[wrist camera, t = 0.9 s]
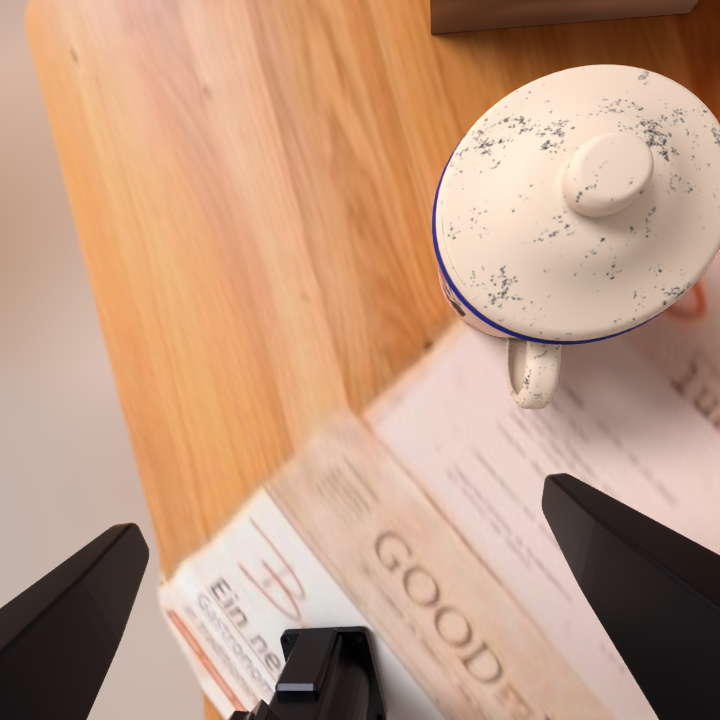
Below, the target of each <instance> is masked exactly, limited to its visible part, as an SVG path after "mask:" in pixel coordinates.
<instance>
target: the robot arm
mask: <svg viewBox="0 0 720 720" xmlns="http://www.w3.org/2000/svg"><path fill="white" fill-rule="evenodd" d="M542 510H543V513H544V515H545V517H546V519H547V522H548V524H549V526H550V528H551V530H552V532H553V534H554V536H555V538H556V540H557V542H558V544H559V546H560V548H561V550H562V552H563V555H564V557H565V559H566V561H567V563H568V565H569V567H570V569H571V571H572V573H573V575H574V577H575V579H576V581H577V583H578V585H579V587H580V588H581V590H582V592H583V594H584V595H585V597H586V599H587V601H588V602H589V604H590V606H591V607H592V609H593V611H594V612H595V614H596V616H597V617H598V619H599V620H600V622H601V624H602V625H603V627H604V629H605V630H606V632H607V634H608V635H609V637H610V639H611V640H612V642H613V644H614V645H615V647H616V649H617V650H618V652H619V654H620V655H621V657H622V659H623V660H624V662H625V664H626V665H627V667H628V669H629V670H630V672H631V674H632V675H633V677H634V679H635V680H636V682H637V684H638V685H639V687H640V689H641V690H642V692H643V694H644V695H645V697H646V699H647V700H648V702H649V704H650V705H651V707H652V709H653V710H654V712H655V714H656V715H657V717H658V719H659V720H720V555H718V554H716V553H715V552H713V551H711V550H709V549H707V548H705V547H703V546H702V545H700V544H698V543H696V542H694V541H692V540H690V539H689V538H687V537H685V536H683V535H681V534H679V533H677V532H675V531H674V530H672V529H670V528H668V527H666V526H664V525H662V524H661V523H659V522H657V521H655V520H653V519H651V518H649V517H648V516H646V515H644V514H642V513H640V512H638V511H636V510H635V509H633V508H631V507H629V506H627V505H625V504H623V503H621V502H620V501H618V500H616V499H614V498H612V497H610V496H608V495H607V494H605V493H603V492H601V491H599V490H597V489H595V488H594V487H592V486H590V485H588V484H586V483H584V482H582V481H580V480H579V479H577V478H575V477H573V476H571V475H569V474H566V473H560V474H551V475H548V476H547V477H546V478H545V482H544V489H543V496H542ZM148 559H149V548H148V546H147V544H146V541H145V539H144V537H143V535H142V533H141V531H140V529H139V527H138V525H136V524H135V523H125V524H117V525H114V526H112V527H110V528H109V529H108V530H106V531H105V532H104V533H102V534H101V535H100V536H98V537H97V538H95V539H94V540H93V541H91V542H90V543H89V544H87V545H86V546H85V547H83V548H82V549H81V550H79V551H78V552H76V553H75V554H74V555H72V556H71V557H70V558H68V559H67V560H66V561H64V562H63V563H62V564H60V565H59V566H57V567H56V568H55V569H53V570H52V571H51V572H49V573H48V574H47V575H45V576H44V577H43V578H41V579H40V580H39V581H37V582H36V583H35V584H33V585H32V586H30V587H29V588H28V589H26V590H25V591H24V592H22V593H21V594H20V595H18V596H17V597H15V598H14V599H13V600H11V601H10V602H9V603H7V604H6V605H4V606H3V607H2V608H0V720H86V719H87V717H88V715H89V713H90V710H91V708H92V706H93V704H94V701H95V699H96V697H97V694H98V692H99V690H100V688H101V685H102V683H103V681H104V678H105V676H106V674H107V672H108V669H109V667H110V665H111V662H112V660H113V658H114V656H115V653H116V651H117V648H118V646H119V643H120V641H121V638H122V636H123V632H124V630H125V627H126V624H127V622H128V619H129V616H130V613H131V610H132V607H133V604H134V601H135V598H136V595H137V592H138V589H139V587H140V583H141V581H142V578H143V575H144V572H145V569H146V566H147V563H148ZM359 635H362V636H363V637H360V636H359ZM287 638H289V639H287ZM280 640H281V645H282V649H283V653H284V657H285V662H286V664H285V666H284V669H283V671H282V673H281V675H280V677H279V679H278V681H277V684H276V686H275V690H276V691H275V693H274V695H273V697H272V700H271V702H270V704H269V705H268V704H267V703H266V702H264V701H263V700H262V699H261V700H260V702H259V703H258V704H257V705H256V707H255V708H254V709H253V710H252V711H251V712H249V711H248V710H247V711H246V712H244V711H234V712H233V714H232V715H231V716H230V717H229V719H228V720H386V717H387V709H386V705H385V701H384V697H383V692H382V688H381V684H380V680H379V676H378V671H377V667H376V663H375V659H374V655H373V651H372V646H371V642H370V638H369V634H368V631H367V630H366V629H365V628H364V627H361V626H357V627H334V628H311V629H288V630H285V631H284V632H283V634H282V636H281V638H280Z"/></svg>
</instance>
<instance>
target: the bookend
mask: <svg viewBox="0 0 720 720" xmlns="http://www.w3.org/2000/svg"><path fill="white" fill-rule="evenodd" d="M698 1H699V0H430V7H431V34H439V33H451V32H463V31H475V30H488V29H500V28H512V27H525V26H537V25H549V24H562V23H574V22H586V21H598V20H611V19H623V18H635V17H648V16H660V15H672V14H685V13H690V12H691V10H692V9H693V8H694V6H695V5H696V4H697V3H698Z"/></svg>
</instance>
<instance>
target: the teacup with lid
mask: <svg viewBox="0 0 720 720" xmlns="http://www.w3.org/2000/svg"><path fill="white" fill-rule="evenodd" d="M432 233H433V242H434V248H435V252H436V256H437V260H438V272H439V280H440V285H441V288H442V291H443V294H444V296H445V298H446V300H447V302H448V304H449V305H450V307H451V308H452V309H453V311H454V312H455V313H456V314H457V315H458V316H459V317H460V318H461V319H462V320H463V321H464V322H466V323H467V324H468V325H470V326H472V327H473V328H475V329H477V330H479V331H481V332H484V333H486V334H489V335H493V336H497V337H503V338H507V344H506V374H507V381H508V387H509V390H510V394H511V396H512V398H513V400H514V401H515V403H516V404H517V405H518V406H520V407H522V408H526V409H542V408H544V407H546V406H547V405H548V404H549V403H550V402H551V400H552V398H553V396H554V394H555V391H556V388H557V384H558V380H559V374H560V365H561V351H562V345H572V344H582V343H589V342H594V341H600V340H603V339H607V338H611V337H614V336H617V335H620V334H622V333H625V332H628V331H630V330H632V329H634V328H636V327H639V326H641V325H643V324H644V323H646V322H648V321H650V320H651V319H653V318H655V317H656V316H658V315H659V314H661V313H662V312H663V311H665V310H666V309H668V308H669V307H670V306H671V305H672V304H674V303H675V302H676V301H677V300H678V299H680V298H681V297H682V296H683V295H684V294H685V293H686V292H687V291H688V290H689V289H690V288H691V287H692V286H693V285H694V284H695V283H696V282H697V281H698V280H699V278H700V277H701V276H702V275H703V273H704V272H705V271H706V270H707V268H708V267H709V265H710V264H711V262H712V261H713V259H714V258H715V256H716V254H717V252H718V250H719V248H720V124H719V123H718V121H717V119H716V118H715V116H714V115H713V114H712V113H711V111H710V110H709V109H708V108H707V106H706V105H705V104H704V103H703V102H702V101H701V100H700V99H699V98H697V97H696V96H695V95H694V94H693V93H691V92H690V91H689V90H687V89H686V88H685V87H683V86H682V85H680V84H678V83H676V82H675V81H673V80H671V79H669V78H667V77H665V76H662V75H660V74H658V73H654V72H651V71H648V70H645V69H641V68H636V67H631V66H623V65H588V66H581V67H575V68H570V69H566V70H562V71H559V72H555V73H552V74H550V75H547V76H544V77H541V78H539V79H537V80H535V81H532V82H530V83H528V84H526V85H524V86H522V87H521V88H519V89H517V90H515V91H514V92H512V93H510V94H509V95H508V96H506V97H505V98H503V99H502V100H500V101H499V102H498V103H497V104H495V105H494V106H493V107H492V108H490V109H489V110H488V111H487V112H486V113H485V114H484V115H483V116H482V117H481V118H480V119H479V120H478V121H477V122H476V123H475V124H474V125H473V127H472V128H471V129H470V130H469V131H468V132H467V133H466V134H465V136H464V137H463V139H462V140H461V141H460V143H459V144H458V145H457V147H456V148H455V150H454V152H453V153H452V155H451V157H450V159H449V161H448V163H447V165H446V167H445V169H444V171H443V173H442V176H441V179H440V181H439V185H438V188H437V191H436V195H435V201H434V206H433V216H432Z"/></svg>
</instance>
